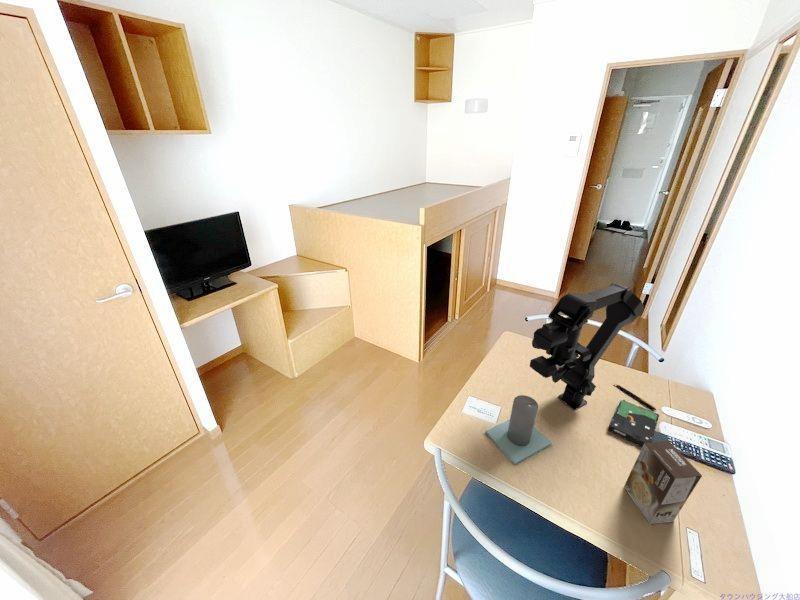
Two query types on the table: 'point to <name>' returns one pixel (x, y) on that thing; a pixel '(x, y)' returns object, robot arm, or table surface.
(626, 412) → the disk drive
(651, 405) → the fountain pen
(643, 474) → the coffee box
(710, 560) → the table surface
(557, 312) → the robot arm
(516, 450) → the slate board
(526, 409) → the grey domed cylinder
